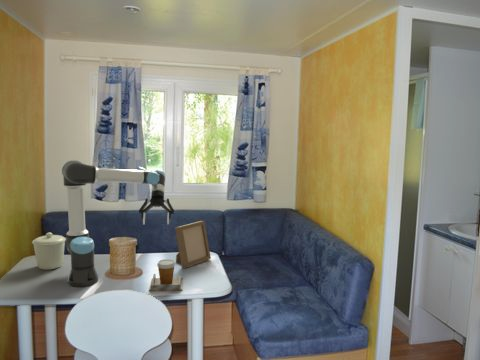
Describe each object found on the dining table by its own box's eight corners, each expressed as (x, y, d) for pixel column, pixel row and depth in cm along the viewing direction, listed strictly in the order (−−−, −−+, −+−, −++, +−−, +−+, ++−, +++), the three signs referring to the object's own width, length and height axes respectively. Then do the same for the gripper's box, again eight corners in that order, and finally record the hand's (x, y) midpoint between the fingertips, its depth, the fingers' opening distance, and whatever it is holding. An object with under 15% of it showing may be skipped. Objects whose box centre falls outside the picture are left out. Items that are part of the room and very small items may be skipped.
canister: (54, 273, 224) (52, 237, 222) (26, 270, 228) (24, 235, 225) (73, 263, 242) (72, 229, 239) (46, 260, 245) (45, 227, 242)
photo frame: (210, 260, 254) (210, 222, 250) (186, 269, 236) (186, 228, 233) (194, 255, 262) (194, 218, 259) (169, 263, 245) (169, 224, 242)
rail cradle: (148, 291, 203) (148, 285, 203) (151, 279, 219) (151, 274, 219) (182, 290, 206) (182, 284, 205) (182, 278, 221) (182, 273, 221)
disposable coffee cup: (167, 278, 219) (167, 257, 217) (178, 283, 213) (179, 261, 212) (153, 283, 212) (153, 262, 210) (165, 288, 206) (165, 266, 204)
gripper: (178, 196, 242) (178, 226, 229) (137, 196, 239) (134, 226, 226) (178, 189, 236) (177, 219, 223) (136, 189, 233) (132, 220, 220)
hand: (155, 223), depth 225 cm, fingers open, 13 cm apart
